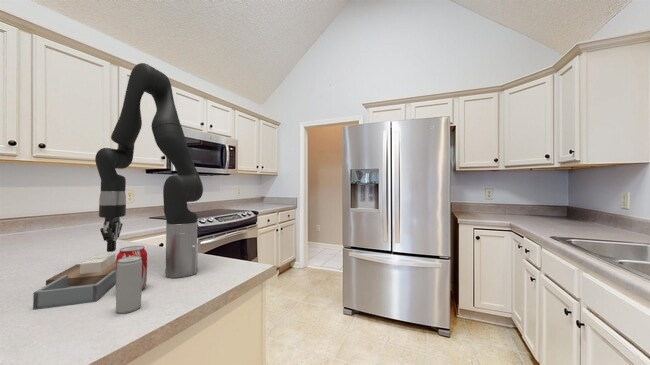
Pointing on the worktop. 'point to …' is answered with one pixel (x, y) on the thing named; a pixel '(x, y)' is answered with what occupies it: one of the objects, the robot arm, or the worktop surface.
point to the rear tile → (110, 257)
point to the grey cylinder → (128, 284)
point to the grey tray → (71, 292)
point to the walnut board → (82, 276)
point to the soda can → (133, 252)
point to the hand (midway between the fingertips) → (111, 251)
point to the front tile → (93, 265)
